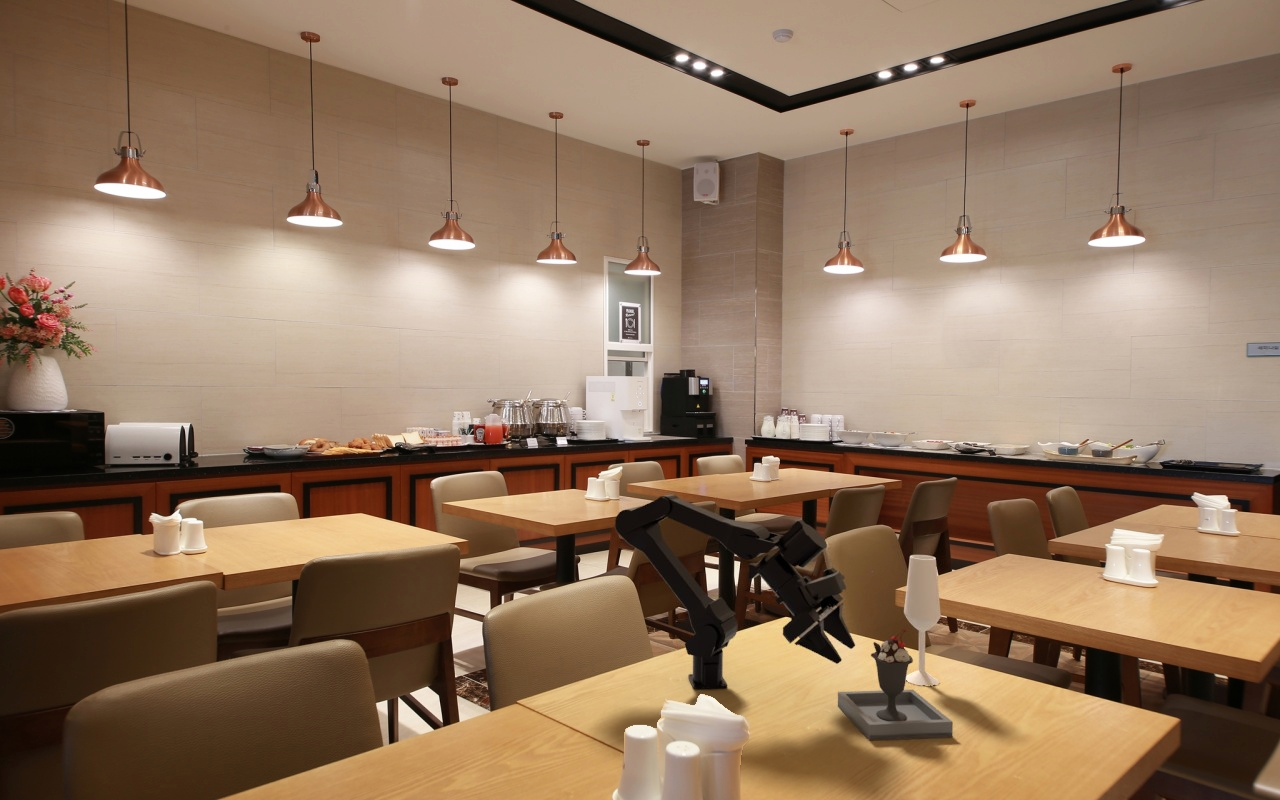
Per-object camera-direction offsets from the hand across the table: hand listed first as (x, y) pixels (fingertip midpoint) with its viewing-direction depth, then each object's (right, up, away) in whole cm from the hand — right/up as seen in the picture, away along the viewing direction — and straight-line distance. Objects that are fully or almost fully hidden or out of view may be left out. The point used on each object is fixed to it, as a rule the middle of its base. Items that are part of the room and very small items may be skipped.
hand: (846, 654), depth 136 cm
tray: (+7, -10, -4) cm, 13 cm away
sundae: (+7, -9, -4) cm, 12 cm away
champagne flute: (+19, -10, +15) cm, 26 cm away
